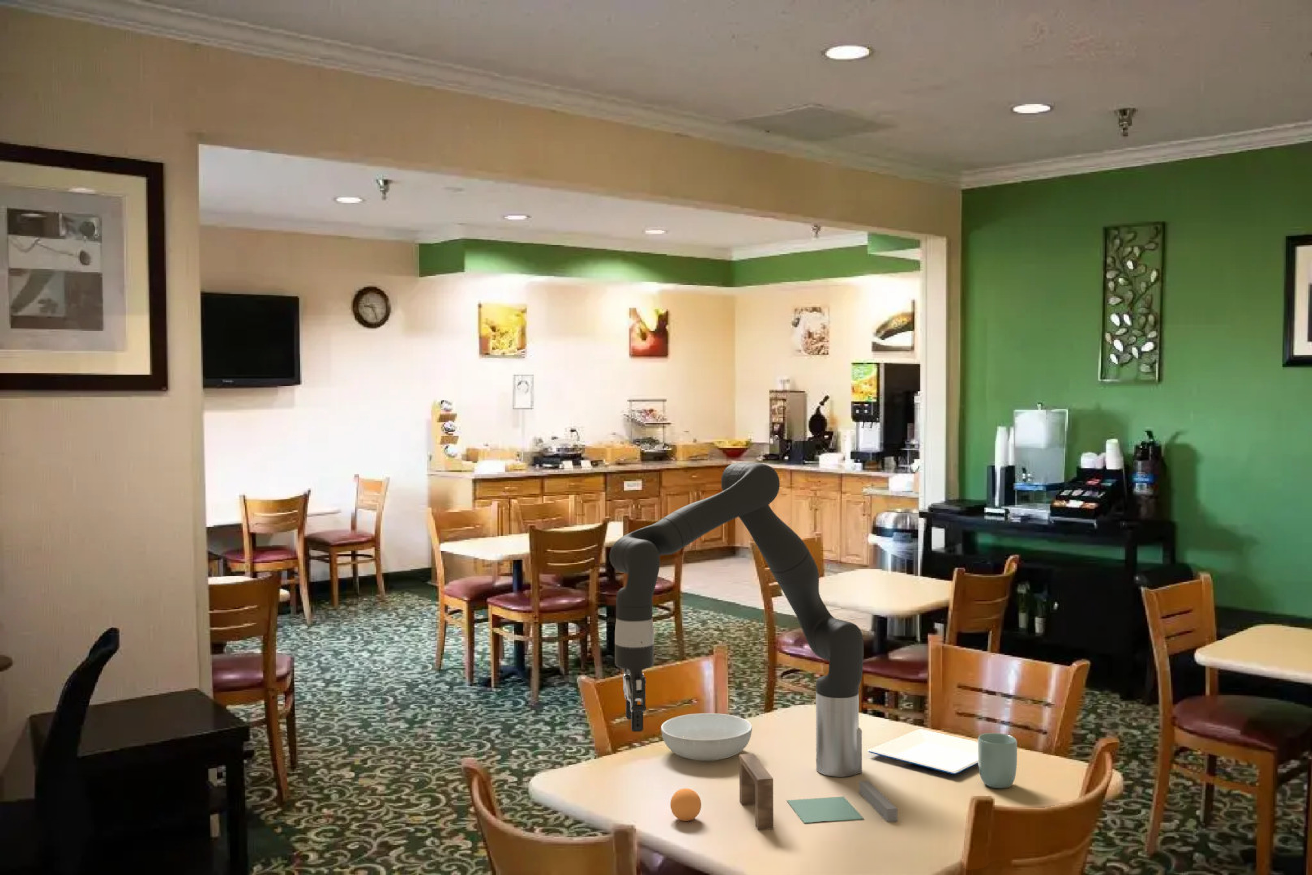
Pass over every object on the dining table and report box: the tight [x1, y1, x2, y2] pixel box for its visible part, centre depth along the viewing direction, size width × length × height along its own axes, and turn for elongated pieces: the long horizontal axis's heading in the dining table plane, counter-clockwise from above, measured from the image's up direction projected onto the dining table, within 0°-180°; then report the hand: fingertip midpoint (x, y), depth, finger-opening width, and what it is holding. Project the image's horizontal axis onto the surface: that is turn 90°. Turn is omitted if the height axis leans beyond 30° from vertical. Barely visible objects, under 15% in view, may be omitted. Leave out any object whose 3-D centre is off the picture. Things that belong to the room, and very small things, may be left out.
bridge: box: [738, 753, 774, 831], centre depth 218 cm, size 3×15×10 cm, turn 9°
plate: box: [867, 728, 978, 775], centre depth 253 cm, size 22×22×2 cm
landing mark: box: [786, 796, 865, 824], centre depth 220 cm, size 12×12×1 cm
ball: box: [669, 787, 702, 822], centre depth 216 cm, size 6×6×6 cm
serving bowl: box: [660, 712, 753, 762], centre depth 255 cm, size 21×21×7 cm
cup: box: [977, 732, 1018, 789], centre depth 234 cm, size 8×8×10 cm
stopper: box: [858, 779, 898, 823], centre depth 222 cm, size 2×16×2 cm, turn 9°
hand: (634, 724), depth 215 cm, fingers open, 8 cm apart
